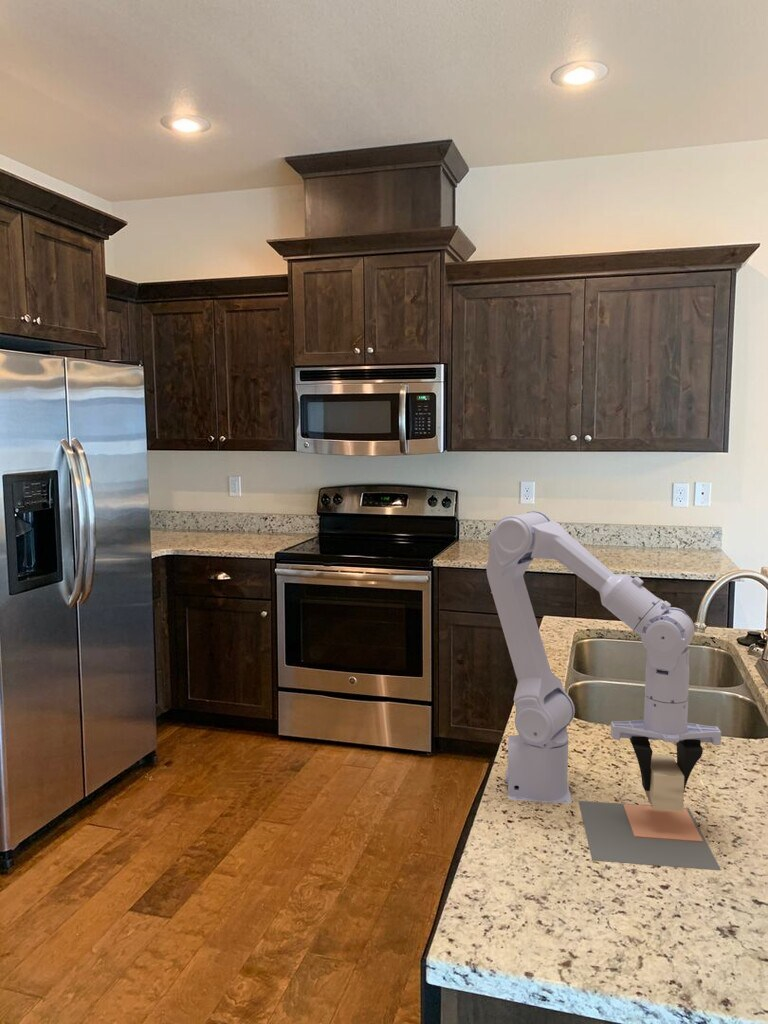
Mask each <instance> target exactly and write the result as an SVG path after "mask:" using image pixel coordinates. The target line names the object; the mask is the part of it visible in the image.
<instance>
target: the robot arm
mask: <svg viewBox="0 0 768 1024" xmlns="http://www.w3.org/2000/svg"><path fill="white" fill-rule="evenodd" d="M487 537H488V542H489V545H490V546H489V547H490V548H489V551H488V558H487V563H486V569H485V570H486V576H487V580H488V584H489V587H490V590H491V593H492V598H493V600H494V604H495V608H496V612H497V615H498V617H499V620H500V626H501V628H502V632H503V634H504V638H505V642H506V645H507V648H508V652H509V656H510V659H511V662H512V666H513V671H514V674H515V677H516V679H517V684H516V689H515V691H514V696H513V702H514V707H515V714H514V726H515V729H516V732H517V733H518V734H516V735H508V739H507V770H505V783H507V796H508V800H513V801H524V802H525V801H527V802H541V803H556V804H568V805H569V804H572V803H573V802H572V796H571V791H570V788H569V783H568V773H569V771H568V769H569V767H568V766H569V765H568V764H569V763H568V762H569V734H568V726H569V725H570V724H571V723H572V721H573V720H574V718H575V713H576V709H575V704H574V702H573V700H572V698H571V697H570V695H569V694H568V693H567V692H566V691H565V689H564V686H563V684H562V680H561V679H560V678H559V677H558V676H556V675H555V674H554V673H553V672H552V670H551V669H552V668H551V666H550V663H549V659H548V657H547V653H546V650H545V646H544V642H543V639H542V636H541V633H540V629H539V626H538V623H537V622H538V621H537V619H536V616H535V612H534V609H533V605H532V602H531V599H530V595H529V592H528V589H527V585H526V582H525V578H524V574H525V572H526V571H527V569H528V567H529V566H530V565H531V563H532V561H533V560H534V559H545V560H555V561H557V562H558V563H560V564H561V565H562V566H563V567H565V568H566V569H568V570H569V571H571V572H572V573H573V574H574V575H576V576H577V577H578V578H580V579H582V580H583V581H584V582H585V583H587V584H588V585H589V586H590V587H592V588H593V589H595V590H596V591H597V592H598V593H599V597H600V602H601V605H602V606H603V607H604V608H606V609H607V610H608V611H609V612H611V613H612V614H613V615H614V616H615V617H616V618H618V619H619V620H620V621H621V622H622V623H623V624H624V625H627V627H629V628H630V629H631V630H632V631H633V632H634V633H636V634H637V635H640V638H641V639H640V640H641V642H642V645H643V647H644V649H645V650H646V662H645V677H644V678H645V683H644V684H645V685H644V709H643V711H644V712H643V719H635V720H621V721H620V720H619V721H616V720H614V721H613V720H612V721H611V722H610V736H611V737H612V740H615V741H616V740H619V741H620V740H621V739H628V740H629V741H630V743H631V746H632V749H633V751H634V754H635V757H636V759H637V763H638V767H639V770H640V776H641V786H642V787H643V790H644V792H645V791H650V784H651V782H650V767H651V758H652V754H653V753H654V752H653V750H652V746H651V741H650V740H652V741H653V740H655V741H663V742H665V743H676V763H677V765H678V766H679V768H680V770H681V772H682V773H683V775H684V792H685V789H686V787H687V784H688V780H689V777H690V775H691V773H692V771H693V769H694V767H695V766H696V764H697V763H698V762H699V760H700V758H701V757H703V756H702V755H703V752H704V751H703V750H704V748H703V746H702V745H701V744H702V743H710V744H711V745H714V746H721V744H722V731H721V730H720V729H719V727H718V726H714V725H711V726H710V725H704V724H699V723H691V722H688V715H689V714H688V712H689V693H690V692H689V688H690V665H689V664H690V647H688V646H689V645H690V644H691V642H692V641H693V639H694V636H695V634H696V629H695V628H696V627H695V624H694V622H693V620H692V618H691V617H690V616H689V615H688V614H687V613H686V611H685V610H684V609H681V608H679V607H671V606H672V604H671V603H670V602H669V601H667V600H664V601H662V600H661V599H659V597H657V596H656V595H655V594H653V593H652V592H651V591H649V590H648V589H647V588H646V587H644V585H643V584H644V580H643V579H641V578H640V577H638V576H634V577H632V576H631V575H629V574H627V573H625V574H615V573H614V572H613V571H611V569H609V568H608V567H607V566H606V565H605V564H604V563H602V562H601V561H600V560H599V558H597V557H596V556H594V555H593V554H592V553H591V552H590V551H588V550H587V549H586V548H585V547H584V546H583V545H582V544H581V543H579V541H577V540H576V539H575V538H574V537H572V536H571V534H569V533H568V532H567V531H566V530H565V528H564V527H563V526H562V525H561V524H560V523H558V522H557V521H554V520H552V519H551V518H550V517H549V516H548V515H547V514H546V513H544V512H542V511H539V510H531V511H527V512H526V513H522V514H521V513H520V514H518V515H507V516H505V517H502V518H500V520H498V522H497V523H496V524H495V526H494V527H493V529H492V530H491V532H490V533H489V535H488V536H487Z"/></svg>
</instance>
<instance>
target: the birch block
mask: <svg viewBox="0 0 768 1024" xmlns="http://www.w3.org/2000/svg"><path fill="white" fill-rule="evenodd" d="M650 782H651V784H650V791H645V790H644V793H645V794H646V798H647V800H648V801H649V803H650V806H651V807H652V809H653V810H668V811H683V808H684V796H685V795H684V794H685V791H684V775H683V773H682V772H681V770H680V768H679V766H678V765H677V760H676V759H675V758H674V756H673V755H672V754H658V753H656V754H655V753H652V758H651V767H650Z"/></svg>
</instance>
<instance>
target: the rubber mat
mask: <svg viewBox="0 0 768 1024" xmlns="http://www.w3.org/2000/svg"><path fill="white" fill-rule="evenodd" d="M578 805H579V809H580V813H581V818H582V821H583V827H584V831H585V835H586V838H587V840H586V841H587V844H588V847H589V853H590V856H591V861H595V862H596V861H597V862H606V863H618V864H619V863H620V864H635V865H645V866H657V867H669V868H670V867H671V868H672V867H673V868H682V869H683V868H684V869H694V870H695V869H698V870H710V871H719V872H720V871H722V869H721V867H720V865H719V863H718V861H717V859H716V858H715V856H714V854H713V852H712V850H711V848H710V846H709V844H708V842H707V841H706V839H705V837H704V834H703V833H702V831H701V829H700V826H699V825H698V824H697V821H696V819H695V818H694V815H693V814H692V812H691V810H690V808H689V807H683V811H668V810H653V809H652V807H651V805H648V804H647V805H646V804H633V803H631V804H630V803H620V802H619V803H616V802H603V801H588V800H586V801H585V800H578Z"/></svg>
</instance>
